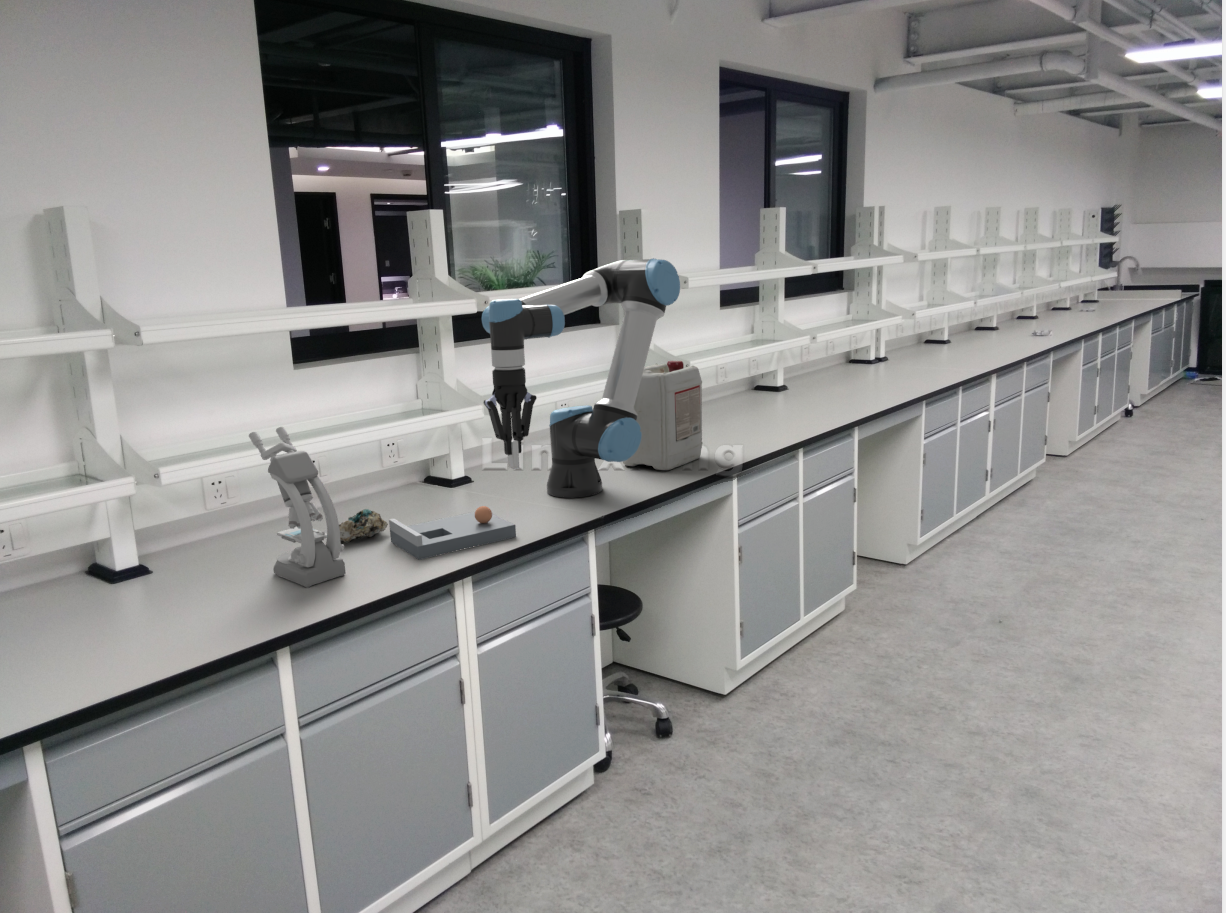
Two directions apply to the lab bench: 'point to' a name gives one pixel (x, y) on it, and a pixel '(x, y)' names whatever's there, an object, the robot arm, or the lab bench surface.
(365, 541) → the lab bench surface
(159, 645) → the lab bench surface
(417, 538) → the grey flat block
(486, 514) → the ball
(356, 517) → the mineral specimen
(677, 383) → the jerry can
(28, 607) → the lab bench surface
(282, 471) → the microscope
